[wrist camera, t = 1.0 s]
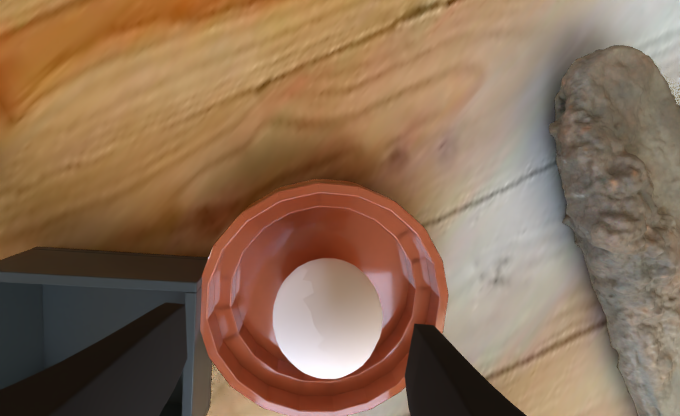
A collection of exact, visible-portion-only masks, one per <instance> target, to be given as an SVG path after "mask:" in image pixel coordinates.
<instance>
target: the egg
mask: <svg viewBox="0 0 680 416" xmlns="http://www.w3.org/2000/svg"><path fill="white" fill-rule="evenodd" d="M382 319H383V316H382V308H381V303H380V300H379V296H378V294H377V291H376V289H375V287H374V285H373V284H372V282H371V281H370V280H369V278H368V277H367V275H366V274H365V273H363V272H362V271H361V270H360V269H358V268H357V267H356V266H355V265H353V264H350V263H348V262H346V261H343V260H339V259H335V258H321V259H316V260H312V261H309V262H307V263H305V264H303V265H301V266H299V267H297V268H296V269H295V270H294V271H293V272H292V273H291V274H290V275H289V276H288V277H287V278H286V279H285V280H284V282H283V283H282V285H281V287H280V289H279V291H278V293H277V296H276V299H275V302H274V307H273V328H274V333H275V337H276V340H277V343H278V345H279V347H280V349H281V351H282V353H283V354H284V355H285V356H286V357H287V359H288V360H289V361H290V362H291V363H292V364H293V365H294V366H295V367H296V368H297V369H299V370H300V371H302V372H303V373H305V374H308V375H310V376H313V377H316V378H321V379H338V378H341V377H344V376H346V375H348V374H350V373H352V372H354V371H356V370H357V369H358V368H360V367H361V366H362V365H363V364H364V363H365V362H366V361H367V360H368V359H369V358H370V356H371V354H372V352H373V350H374V348H375V346H376V344H377V342H378V340H379V338H380V334H381V330H382Z"/></svg>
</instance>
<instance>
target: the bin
mask: <svg viewBox="0 0 680 416" xmlns="http://www.w3.org/2000/svg"><path fill="white" fill-rule="evenodd" d="M207 260H208V258H207V257H191V256H175V255H160V254H144V253H128V252H112V251H96V250H80V249H64V248H48V247H35V248H32V249H30V250H27V251H24V252H21V253H19V254H16V255H13V256H10V257H8V258H5V259H2V260H0V389H3V388H5V387H8V386H10V385H12V384H15V383H17V382H19V381H21V380H23V379H25V378H28V377H30V376H32V375H34V374H36V373H39V372H41V371H43V370H45V369H47V368H49V367H51V366H53V365H55V364H57V363H59V362H61V361H63V360H65V359H67V358H69V357H70V356H72V355H74V354H76V353H78V352H80V351H81V350H83V349H85V348H87V347H89V346H91V345H92V344H94V343H96V342H98V341H100V340H102V339H103V338H105V337H107V336H109V335H110V334H112V333H114V332H115V331H117V330H119V329H121V328H122V327H124V326H126V325H127V324H129V323H131V322H132V321H134V320H136V319H137V318H139V317H141V316H142V315H144V314H146V313H147V312H149V311H151V310H153V309H154V308H156V307H158V306H160V305H162V304H164V303H165V302H167V303H179V304H185V307H186V333H187V361H186V363H185V365H184V368H183V370H182V373H181V375H180V377H179V379H178V382H177V384H176V386H175V388H174V390H173V392H172V394H171V396H170V397H169V399H168V401H167V403H166V404H165V406H164V408H163V409H162V411H161V413H160V415H159V416H206V415H207V413H208V410H209V407H210V394H211V372H212V361H211V359H210V358H209V356H208V353H207V350H206V347H205V344H204V341H203V338H202V335H201V331H200V318H201V293H202V286H201V285H202V276H201V275H202V273H203V270H204V268H205V265H206V263H207Z"/></svg>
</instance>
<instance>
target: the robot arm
mask: <svg viewBox="0 0 680 416" xmlns="http://www.w3.org/2000/svg"><path fill="white" fill-rule="evenodd" d="M186 361H187V333H186V307H185V304H179V303H167V302H165V303H164V304H162V305H160V306H158V307H156V308H154V309H153V310H151V311H149V312H147V313H146V314H144V315H142V316H141V317H139V318H137V319H136V320H134V321H132V322H131V323H129V324H127V325H126V326H124V327H122V328H121V329H119V330H117V331H115V332H114V333H112V334H110V335H109V336H107V337H105V338H103V339H102V340H100V341H98V342H96V343H94V344H92V345H91V346H89V347H87V348H85V349H83V350H81V351H80V352H78V353H76V354H74V355H72V356H70V357H69V358H67V359H65V360H63V361H61V362H59V363H57V364H55V365H53V366H51V367H49V368H47V369H45V370H43V371H41V372H39V373H36V374H34V375H32V376H30V377H28V378H25V379H23V380H21V381H19V382H17V383H15V384H12V385H10V386H8V387H5V388H3V389H0V416H159V415H160V413H161V411H162V409H163V408H164V406H165V404H166V403H167V401H168V399H169V397H170V396H171V394H172V392H173V390H174V388H175V386H176V384H177V382H178V379H179V377H180V375H181V373H182V370H183V368H184V365H185V363H186ZM405 383H406V391H407V398H408V405H409V410H410V415H411V416H526V415H525V414H524V413H523V412H522V411H520V410H519V409H518V408H517V407H516V406H514V405H513V404H512V403H511V402H510V401H509V400H507V399H506V398H505V397H504V396H503V395H502V394H501V393H500V392H499V391H498V390H497V389H495V388H494V387H493V386H492V385H491V384H490V383H489V382H488V381H487V380H486V379H485V378H484V377H483V376H482V375H481V374H480V373H479V372H478V371H477V370H476V369H475V368H474V367H473V366H472V365H471V364H470V363H469V362H468V361H467V360H466V359H465V358H464V357H463V356H462V355H461V354H460V353H459V352H458V351H457V349H456V348H455V347H454V346H453V345H452V344H451V343H450V342H449V341H448V340H447V339H446V338H445V337H444V335H443V334H442V333H441V332H440V331H439V330H438V329H437V328H436V327H435V326H434V325H427V324H415V323H414V328H413V334H412V339H411V344H410V350H409V355H408V360H407V365H406V371H405Z"/></svg>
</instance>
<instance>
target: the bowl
mask: <svg viewBox="0 0 680 416" xmlns="http://www.w3.org/2000/svg"><path fill="white" fill-rule="evenodd" d="M321 258H335V259H339V260H343V261H346V262H348V263H350V264H353V265H355V266H356V267H357V268H358V269H360V270H361V271H362V272H363V273H365V274H366V275H367V277H368V278H369V280H370V281H371V282H372V284H373V285H374V287H375V289H376V291H377V294H378V296H379V300H380V303H381V308H382V316H383V319H382V330H381V334H380V338H379V340H378V342H377V344H376V346H375V348H374V350H373V352H372V354H371V356H370V358H369V359H368V360H367V361H366V362H365V363H364V364H363V365H362V366H361V367H360V368H358V369H357V370H356V371H354V372H352V373H350V374H348V375H346V376H344V377H341V378H338V379H321V378H316V377H313V376H310V375H308V374H305V373H303V372H302V371H300V370H299V369H297V368H296V367H295V366H294V365H293V364H292V363H291V362H290V361H289V360H288V359H287V357H286V356H285V355H284V354H283V353H282V351H281V349H280V347H279V345H278V343H277V340H276V337H275V333H274V328H273V307H274V302H275V299H276V296H277V293H278V291H279V289H280V287H281V285H282V283H283V282H284V280H285V279H286V278H287V277H288V276H289V275H290V274H291V273H292V272H293V271H294V270H295V269H296V268H297V267H299V266H301V265H303V264H305V263H307V262H309V261H312V260H316V259H321ZM201 276H202V285H201V286H202V293H201V318H200V331H201V335H202V338H203V341H204V344H205V347H206V350H207V353H208V356H209V358H210V359H211V361H212V362H213V363H214V365H215V366H216V367H217V369H218V370H219V371H220V373H221V374H222V375H223V377H224V378H225V379H226V381H227V382H228V383H229V385H230V386H232V388H234V389H235V390H237V391H238V392H240V393H241V394H243V395H244V396H245V397H247V398H248V399H250V400H251V401H253V402H254V403H256V404H257V405H259V406H260V407H262V408H264V409H268V410H271V411H274V412H277V413H281V414H284V415H287V416H348V415H352V414H355V413H359V412H363V411H366V410H370V409H372V408H374V407H376V406H377V405H379V404H381V403H382V402H384V401H386V400H387V399H389V398H391V397H392V396H394V395H396V394H397V393H399V392H401V391H402V390H403V389H404V388H405V387H406V383H405V371H406V365H407V360H408V355H409V350H410V344H411V339H412V334H413V328H414V323H415V324H427V325H434V326H435V327H436V328H437V329H438V330H439V331H440V332H441V333H443V328H444V321H445V315H446V309H447V302H448V290H447V284H446V278H445V272H444V266H443V261H442V259H441V257H440V255H439V253H438V251H437V249H436V248H435V246H434V244H433V242H432V240H431V239H430V237H429V235H428V233H427V231H426V229H425V228H424V227H423V226H422V225H421V224H420V223H419V222H418V221H417V220H415V219H414V218H413V217H412V216H411V215H410V214H409V213H408V212H407V211H406V210H404V209H403V208H402V207H401V206H400V205H399V204H398V203H397V202H395V201H393V200H392V199H390V198H388V197H386V196H384V195H382V194H380V193H378V192H375V191H373V190H371V189H368V188H366V187H364V186H362V185H359V184H357V183H355V182H350V181H339V180H328V179H312V180H307V181H303V182H299V183H294V184H290V185H285V186H281V187H279V188H277V189H276V190H274V191H272V192H271V193H269V194H267V195H265V196H264V197H262V198H260V199H259V200H257V201H255V202H254V203H252V204H250V205H249V206H248V207H247V208H246V209H245V210H244V211H243V212H242V213H241V214H240V215H239V216H238V217H237V218H236V219H235V221H234V222H233V223H232V224H231V225H230V226H229V228H228V229H227V230H226V231H225V232H224V233H223V234H222V236H221V237H220V238H219V239H218V240H217V241H216V243H215V244H214V246H213V248H212V250H211V253H210V255H209V258H208V260H207V263H206V265H205V268H204V270H203V273H202V275H201Z"/></svg>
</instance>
